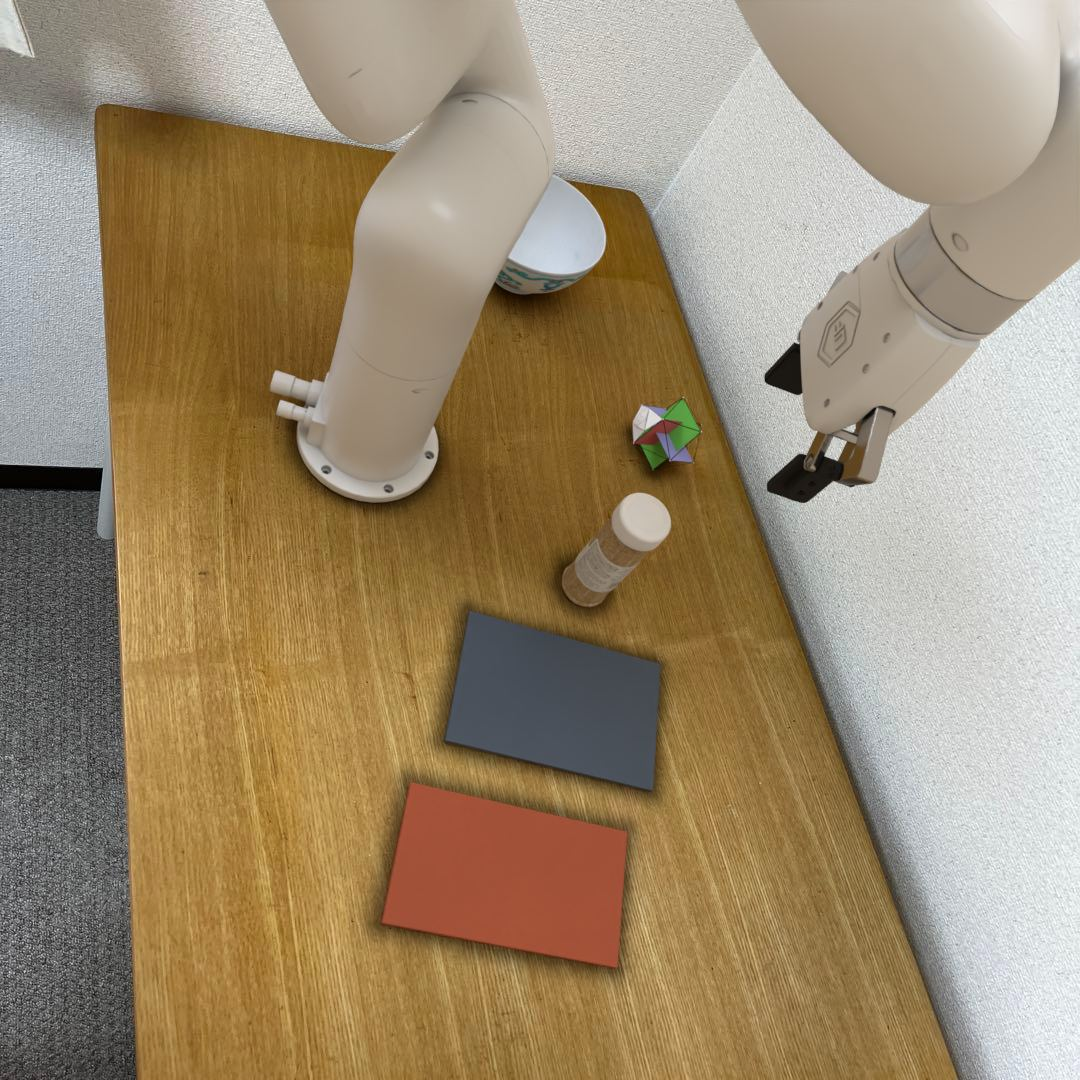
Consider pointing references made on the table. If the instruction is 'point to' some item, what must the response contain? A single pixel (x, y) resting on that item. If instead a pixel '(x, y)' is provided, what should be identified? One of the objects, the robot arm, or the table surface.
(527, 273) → the chinaware
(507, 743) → the back mat
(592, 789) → the table surface
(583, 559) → the sprinkles bottle
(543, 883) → the front mat
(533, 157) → the robot arm
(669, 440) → the geometric puzzle
